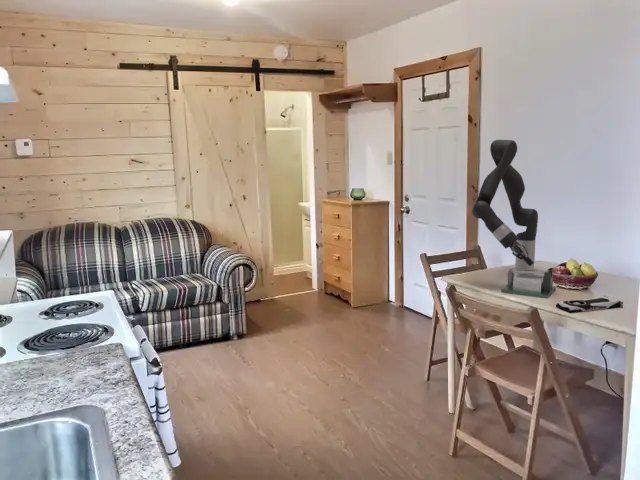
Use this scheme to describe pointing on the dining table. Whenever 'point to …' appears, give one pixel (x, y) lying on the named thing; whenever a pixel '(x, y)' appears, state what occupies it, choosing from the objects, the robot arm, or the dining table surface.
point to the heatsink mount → (530, 284)
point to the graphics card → (589, 304)
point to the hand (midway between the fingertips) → (532, 264)
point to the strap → (528, 271)
